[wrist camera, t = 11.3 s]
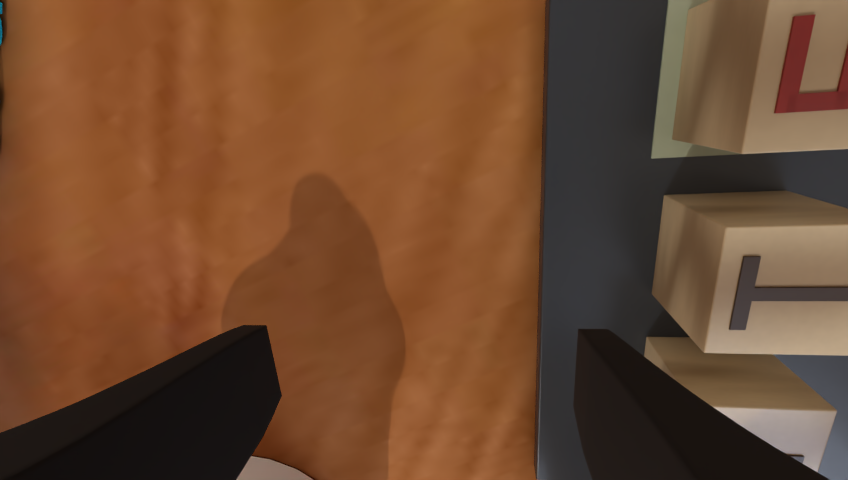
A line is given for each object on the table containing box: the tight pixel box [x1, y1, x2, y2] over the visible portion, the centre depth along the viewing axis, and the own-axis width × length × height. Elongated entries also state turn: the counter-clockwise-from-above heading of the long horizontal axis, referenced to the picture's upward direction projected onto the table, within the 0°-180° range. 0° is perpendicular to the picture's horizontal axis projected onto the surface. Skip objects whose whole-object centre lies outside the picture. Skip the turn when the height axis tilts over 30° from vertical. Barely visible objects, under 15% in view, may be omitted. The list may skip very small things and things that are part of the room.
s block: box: [672, 0, 848, 154], centre depth 12 cm, size 4×4×4 cm
